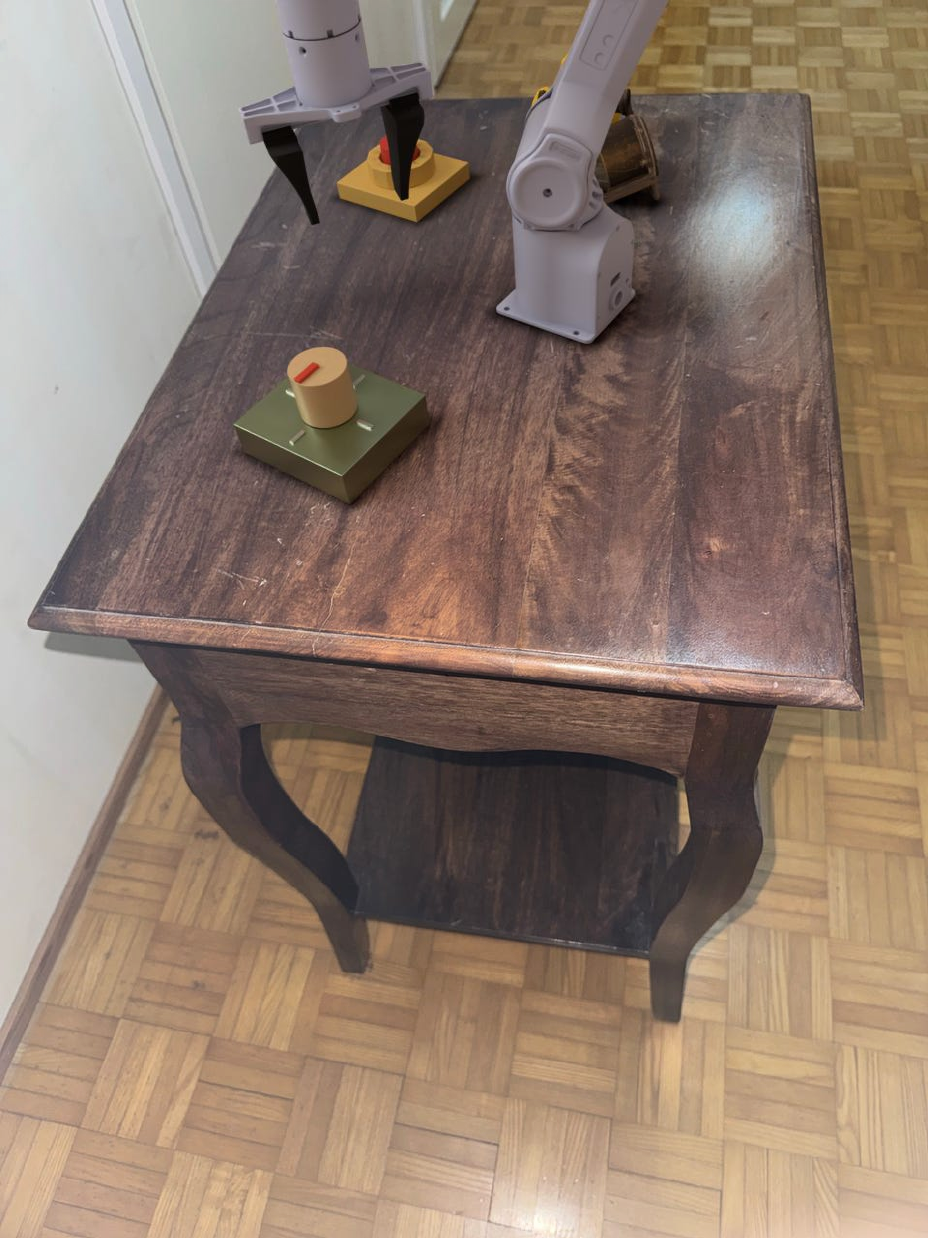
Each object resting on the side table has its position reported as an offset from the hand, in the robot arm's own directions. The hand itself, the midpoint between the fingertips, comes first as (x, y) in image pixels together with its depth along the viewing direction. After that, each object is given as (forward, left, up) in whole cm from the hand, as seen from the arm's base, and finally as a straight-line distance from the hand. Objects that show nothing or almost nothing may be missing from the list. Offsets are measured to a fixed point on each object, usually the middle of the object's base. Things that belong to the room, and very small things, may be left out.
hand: (357, 206), depth 75 cm
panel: (-9, +16, -8) cm, 20 cm away
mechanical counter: (-9, -23, -9) cm, 26 cm away
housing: (+9, -16, -8) cm, 20 cm away
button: (+9, -16, -5) cm, 19 cm away
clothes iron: (-6, -26, -5) cm, 27 cm away
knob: (-9, +16, -5) cm, 19 cm away
